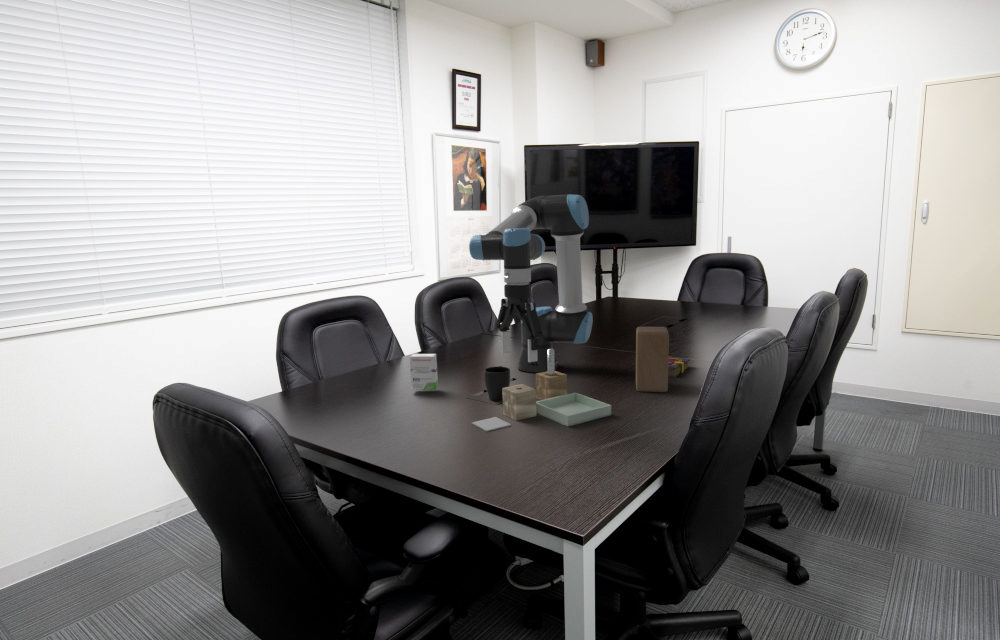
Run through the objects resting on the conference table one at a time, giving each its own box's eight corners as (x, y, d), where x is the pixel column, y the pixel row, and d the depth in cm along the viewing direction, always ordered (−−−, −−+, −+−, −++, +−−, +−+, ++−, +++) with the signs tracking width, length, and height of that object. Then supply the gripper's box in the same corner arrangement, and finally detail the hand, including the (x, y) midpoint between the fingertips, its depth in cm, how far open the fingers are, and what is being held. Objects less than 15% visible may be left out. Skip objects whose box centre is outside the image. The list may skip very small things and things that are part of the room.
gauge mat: (471, 423, 168) (471, 422, 168) (495, 418, 172) (495, 416, 172) (486, 431, 161) (486, 430, 161) (511, 425, 165) (510, 424, 165)
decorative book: (644, 375, 213) (644, 362, 212) (661, 366, 226) (661, 353, 225) (675, 380, 207) (675, 366, 206) (690, 370, 219) (691, 356, 219)
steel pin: (546, 398, 189) (545, 349, 186) (552, 397, 190) (551, 348, 188) (550, 400, 187) (550, 350, 185) (556, 398, 188) (555, 349, 186)
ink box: (438, 386, 207) (437, 353, 205) (435, 390, 202) (434, 356, 200) (414, 386, 207) (412, 353, 205) (411, 390, 202) (409, 356, 200)
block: (668, 393, 191) (669, 332, 188) (636, 392, 193) (636, 331, 190) (665, 384, 201) (667, 326, 197) (635, 383, 203) (636, 326, 199)
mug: (514, 391, 198) (514, 363, 196) (508, 402, 186) (507, 373, 184) (490, 390, 199) (489, 363, 198) (482, 401, 188) (481, 372, 186)
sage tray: (533, 411, 177) (533, 402, 176) (575, 401, 185) (575, 392, 184) (567, 426, 163) (567, 416, 163) (611, 415, 172) (611, 405, 171)
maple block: (503, 414, 175) (502, 388, 174) (522, 409, 179) (522, 384, 177) (516, 420, 169) (515, 393, 168) (536, 415, 173) (535, 389, 172)
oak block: (536, 398, 190) (535, 373, 188) (553, 394, 193) (553, 370, 192) (549, 403, 184) (548, 378, 183) (567, 399, 188) (566, 374, 186)
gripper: (483, 281, 176) (485, 351, 180) (532, 287, 155) (533, 367, 159) (504, 279, 180) (506, 348, 183) (555, 285, 159) (556, 363, 163)
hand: (518, 357), depth 171 cm, fingers open, 13 cm apart
